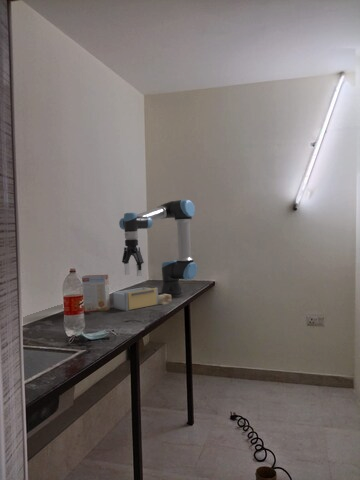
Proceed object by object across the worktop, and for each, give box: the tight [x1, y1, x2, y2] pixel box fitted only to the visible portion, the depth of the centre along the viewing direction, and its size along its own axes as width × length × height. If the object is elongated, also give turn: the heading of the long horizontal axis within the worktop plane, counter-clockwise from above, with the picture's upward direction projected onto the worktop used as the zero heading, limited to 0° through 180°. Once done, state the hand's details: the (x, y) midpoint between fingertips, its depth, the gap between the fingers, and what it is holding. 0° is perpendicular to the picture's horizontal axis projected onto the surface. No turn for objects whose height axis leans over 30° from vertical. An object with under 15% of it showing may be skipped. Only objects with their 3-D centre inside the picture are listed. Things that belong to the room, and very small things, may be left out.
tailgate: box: [128, 287, 157, 311], centre depth 224 cm, size 19×1×10 cm, turn 129°
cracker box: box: [81, 274, 111, 313], centre depth 225 cm, size 14×6×21 cm, turn 79°
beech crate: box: [158, 293, 173, 305], centre depth 235 cm, size 6×7×6 cm
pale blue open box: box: [112, 287, 160, 312], centre depth 230 cm, size 22×15×11 cm
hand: (133, 275), depth 229 cm, fingers open, 13 cm apart
